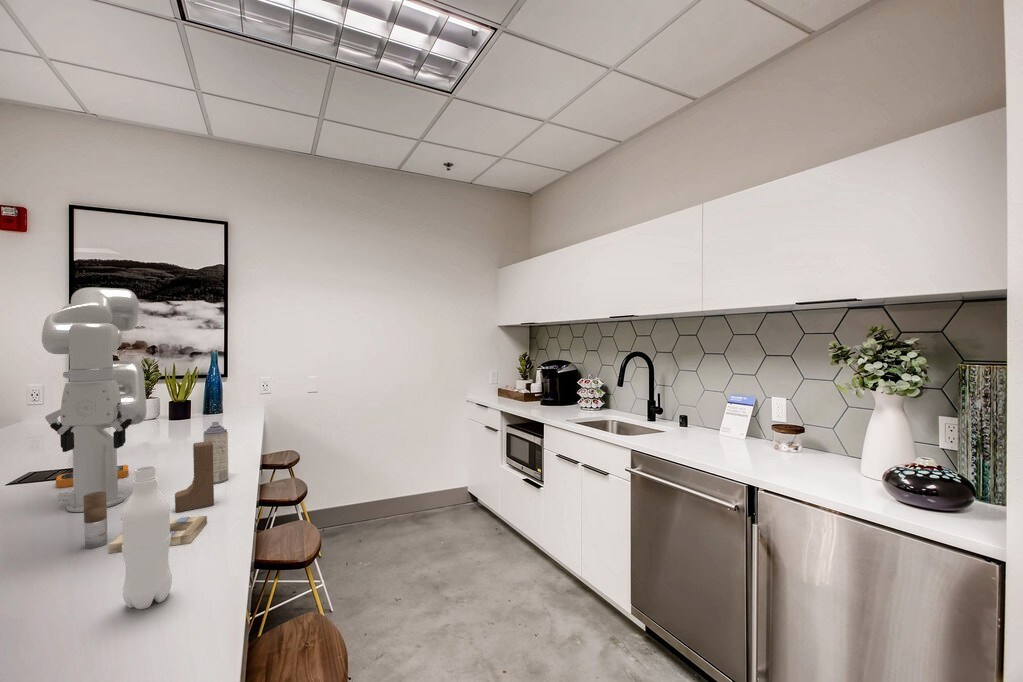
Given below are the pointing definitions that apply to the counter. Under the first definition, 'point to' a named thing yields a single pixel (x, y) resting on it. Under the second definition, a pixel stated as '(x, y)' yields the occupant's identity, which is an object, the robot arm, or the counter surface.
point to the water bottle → (146, 542)
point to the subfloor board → (182, 537)
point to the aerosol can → (218, 451)
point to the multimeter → (67, 479)
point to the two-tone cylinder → (95, 520)
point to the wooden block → (198, 480)
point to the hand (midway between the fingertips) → (94, 448)
